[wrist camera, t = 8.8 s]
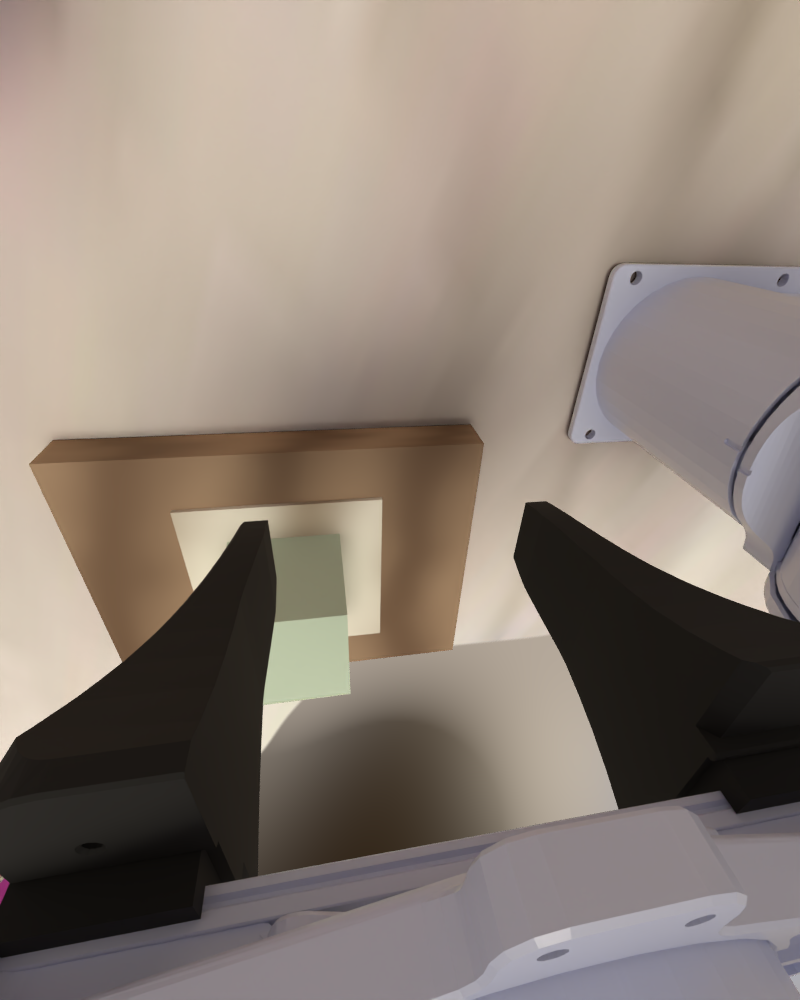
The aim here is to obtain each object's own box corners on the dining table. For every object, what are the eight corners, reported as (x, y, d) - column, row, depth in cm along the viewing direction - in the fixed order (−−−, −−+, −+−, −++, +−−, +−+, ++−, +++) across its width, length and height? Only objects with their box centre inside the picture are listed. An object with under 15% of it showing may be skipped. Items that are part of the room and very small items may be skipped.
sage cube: (339, 533, 21) (347, 614, 17) (343, 608, 24) (350, 693, 20) (227, 541, 21) (208, 629, 17) (244, 618, 23) (231, 709, 19)
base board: (470, 424, 22) (485, 445, 20) (444, 624, 30) (453, 652, 28) (52, 440, 19) (26, 466, 17) (144, 656, 27) (133, 690, 25)
